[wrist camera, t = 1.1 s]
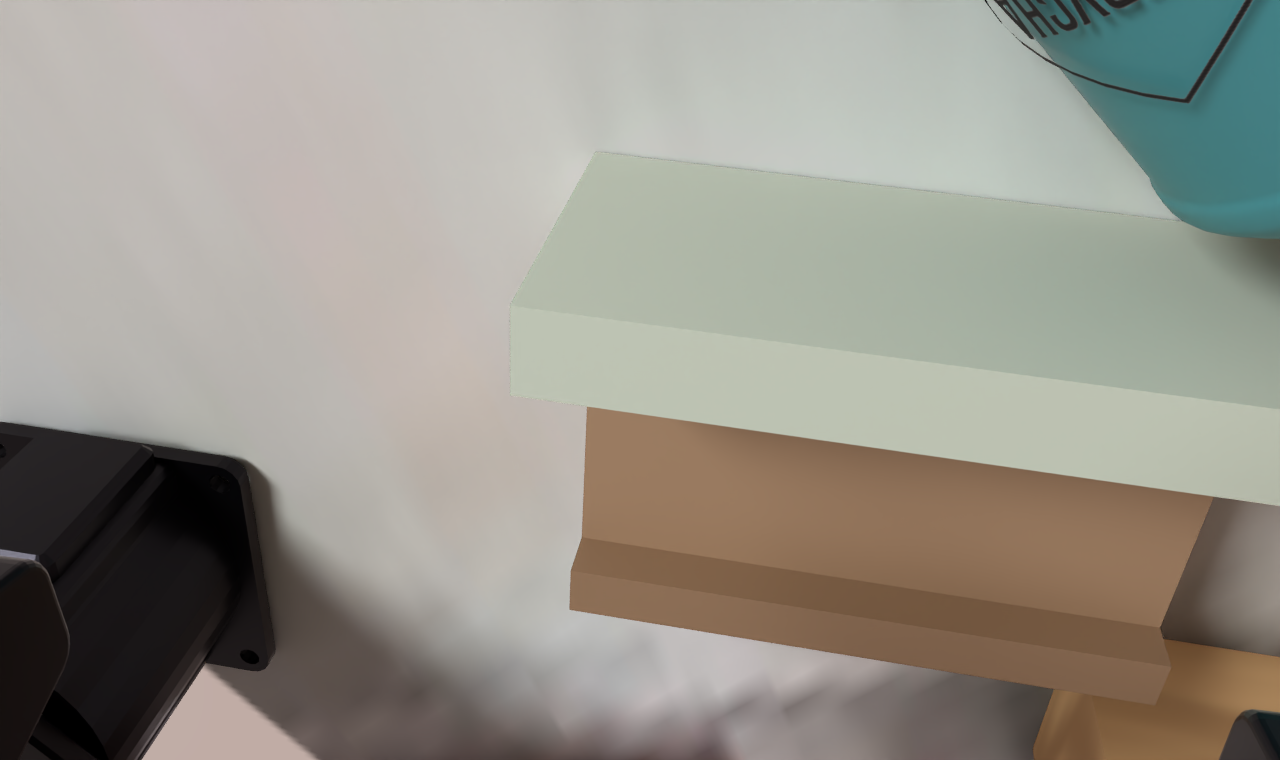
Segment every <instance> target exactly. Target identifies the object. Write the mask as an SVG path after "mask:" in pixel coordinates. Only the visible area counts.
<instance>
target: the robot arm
mask: <svg viewBox="0 0 1280 760" xmlns="http://www.w3.org/2000/svg"><path fill="white" fill-rule="evenodd" d="M219 476H222V477H224V478H225V479H226V480H228V482H226V481H224V480H222V479H221V478H220V477H219ZM274 654H275V644H274V638H273V631H272V625H271V618H270V612H269V606H268V599H267V593H266V586H265V580H264V574H263V567H262V561H261V554H260V548H259V541H258V535H257V529H256V522H255V516H254V509H253V503H252V497H251V490H250V484H249V477H248V474H247V472H246V470H245V468H244V467H243V466H242V465H241V464H240V463H239V462H237V461H236V460H234V459H232V458H229V457H226V456H220V455H214V454H207V453H201V452H194V451H188V450H181V449H175V448H168V447H162V446H155V445H149V444H142V443H136V442H129V441H123V440H116V439H110V438H103V437H97V436H90V435H84V434H77V433H71V432H64V431H58V430H51V429H45V428H38V427H32V426H25V425H19V424H12V423H6V422H0V760H142V758H143V757H144V755H145V754H146V752H147V751H148V749H149V748H150V746H151V745H152V743H153V742H154V740H155V739H156V737H157V736H158V734H159V732H160V731H161V730H162V728H163V726H164V725H165V723H166V722H167V720H168V719H169V717H170V716H171V714H172V713H173V711H174V710H175V708H176V707H177V705H178V704H179V702H180V701H181V699H182V698H183V696H184V695H185V693H186V692H187V690H188V689H189V687H190V686H191V684H192V683H193V681H194V680H195V678H196V677H197V675H198V674H199V672H200V671H201V669H202V668H203V666H204V665H205V663H210V664H216V665H221V666H227V667H233V668H238V669H244V670H250V671H261V670H263V669H265V668H266V667H267V666H268V664H269V663H270V661H271V659H272V657H273V656H274ZM1219 760H1280V712H1273V711H1265V710H1256V709H1250V710H1245V711H1243V712H1241V713H1240V714H1239V715H1238V716H1237V718H1236V719H1235V721H1234V723H1233V725H1232V727H1231V730H1230V732H1229V735H1228V737H1227V740H1226V742H1225V745H1224V747H1223V750H1222V752H1221V755H1220V757H1219Z"/></svg>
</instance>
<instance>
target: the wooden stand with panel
mask: <svg viewBox="0 0 1280 760" xmlns="http://www.w3.org/2000/svg"><path fill="white" fill-rule="evenodd" d="M510 396H517V397H524V398H531V399H538V400H545V401H552V402H559V403H566V404H573V405H580V406H587V423H586V448H585V473H584V498H583V522H582V539H581V542H580V545H579V548H578V551H577V554H576V557H575V560H574V563H573V566H572V569H571V582H570V610H575V611H581V612H587V613H593V614H599V615H605V616H611V617H618V618H624V619H630V620H636V621H642V622H648V623H654V624H660V625H666V626H673V627H679V628H685V629H691V630H697V631H703V632H709V633H715V634H721V635H727V636H734V637H740V638H746V639H752V640H758V641H764V642H770V643H776V644H782V645H789V646H795V647H801V648H807V649H813V650H819V651H825V652H831V653H837V654H844V655H850V656H856V657H862V658H868V659H874V660H880V661H886V662H892V663H898V664H905V665H911V666H917V667H923V668H929V669H935V670H941V671H947V672H953V673H960V674H966V675H972V676H978V677H984V678H990V679H996V680H1002V681H1008V682H1014V683H1021V684H1027V685H1033V686H1039V687H1045V688H1051V689H1057V690H1063V691H1069V692H1076V693H1082V694H1088V695H1094V696H1100V697H1106V698H1112V699H1118V700H1124V701H1131V702H1137V703H1143V704H1149V705H1156V702H1157V700H1158V698H1159V695H1160V693H1161V691H1162V688H1163V686H1164V684H1165V681H1166V679H1167V677H1168V674H1169V672H1170V670H1171V667H1172V666H1171V663H1170V660H1169V656H1168V653H1167V649H1166V646H1165V643H1164V639H1163V636H1162V633H1161V629H1160V627H1161V624H1162V622H1163V619H1164V617H1165V615H1166V612H1167V610H1168V607H1169V605H1170V602H1171V600H1172V598H1173V595H1174V593H1175V590H1176V588H1177V585H1178V583H1179V581H1180V578H1181V576H1182V573H1183V571H1184V568H1185V566H1186V564H1187V561H1188V559H1189V556H1190V554H1191V551H1192V549H1193V547H1194V544H1195V542H1196V539H1197V537H1198V535H1199V532H1200V530H1201V527H1202V525H1203V522H1204V520H1205V518H1206V515H1207V513H1208V510H1209V508H1210V505H1211V503H1212V501H1213V498H1214V497H1220V498H1227V499H1234V500H1241V501H1248V502H1255V503H1262V504H1269V505H1276V506H1280V239H1264V238H1245V237H1232V236H1226V235H1221V234H1216V233H1211V232H1206V231H1203V230H1201V229H1199V228H1196V227H1194V226H1192V225H1190V224H1188V223H1186V222H1183V221H1174V220H1166V219H1158V218H1149V217H1141V216H1132V215H1124V214H1115V213H1107V212H1099V211H1090V210H1082V209H1073V208H1065V207H1057V206H1048V205H1040V204H1031V203H1023V202H1014V201H1006V200H998V199H989V198H981V197H972V196H964V195H955V194H947V193H939V192H930V191H922V190H913V189H905V188H897V187H888V186H880V185H871V184H863V183H854V182H846V181H838V180H829V179H821V178H812V177H804V176H796V175H787V174H779V173H770V172H762V171H753V170H745V169H737V168H728V167H720V166H711V165H703V164H695V163H686V162H678V161H669V160H661V159H652V158H644V157H636V156H627V155H619V154H610V153H602V152H595V154H594V155H593V157H592V159H591V161H590V163H589V164H588V166H587V168H586V170H585V172H584V173H583V175H582V177H581V179H580V181H579V182H578V184H577V186H576V188H575V190H574V191H573V193H572V195H571V197H570V199H569V200H568V202H567V204H566V206H565V207H564V209H563V211H562V213H561V215H560V216H559V218H558V220H557V222H556V224H555V225H554V227H553V229H552V231H551V233H550V234H549V236H548V238H547V240H546V242H545V243H544V245H543V247H542V249H541V251H540V252H539V254H538V256H537V258H536V260H535V261H534V263H533V265H532V267H531V269H530V270H529V272H528V274H527V276H526V277H525V279H524V281H523V283H522V285H521V286H520V288H519V290H518V292H517V294H516V295H515V297H514V299H513V301H512V303H511V304H510Z"/></svg>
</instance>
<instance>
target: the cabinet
mask: <svg viewBox="0 0 1280 760" xmlns="http://www.w3.org/2000/svg"><path fill="white" fill-rule="evenodd" d="M1164 643H1165V646H1166V649H1167V653H1168V656H1169V660H1170V663H1171V666H1172V667H1171V670H1170V672H1169V674H1168V677H1167V679H1166V681H1165V684H1164V686H1163V688H1162V691H1161V693H1160V695H1159V698H1158V700H1157V702H1156V705H1149V704H1143V703H1137V702H1131V701H1124V700H1118V699H1112V698H1106V697H1100V696H1094V695H1088V694H1082V693H1076V692H1069V691H1063V690H1057V689H1054V691H1053V694H1052V696H1051V699H1050V702H1049V705H1048V707H1047V710H1046V713H1045V716H1044V719H1043V721H1042V724H1041V727H1040V730H1039V733H1038V735H1037V738H1036V741H1035V744H1034V746H1033V755H1034V760H1219V757H1220V755H1221V752H1222V750H1223V747H1224V745H1225V742H1226V740H1227V737H1228V735H1229V732H1230V730H1231V727H1232V725H1233V723H1234V721H1235V719H1236V718H1237V716H1238V715H1239V714H1240V713H1241V712H1243V711H1245V710H1250V709H1256V710H1265V711H1273V712H1280V657H1276V656H1269V655H1263V654H1257V653H1250V652H1244V651H1237V650H1231V649H1225V648H1218V647H1212V646H1206V645H1199V644H1193V643H1187V642H1180V641H1174V640H1168V639H1164Z"/></svg>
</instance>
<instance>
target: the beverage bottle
mask: <svg viewBox="0 0 1280 760" xmlns="http://www.w3.org/2000/svg"><path fill="white" fill-rule="evenodd" d="M994 1H995V2H996V3H997V4H998V5H999V6H1000V7H1001V8H1002V9H1003V10H1004V12H1005V13H1006V14H1007V15H1008V16H1009V17H1010V18H1011V19H1012V20H1013V21H1014V22H1015V23H1016V24H1017V25H1018V26H1019V27H1020V28H1021V29H1022V30H1023V31H1024V32H1025V33H1026V34H1027V36H1028V37H1029V38H1030V39H1034V38H1035V39H1036V40H1037V41H1038V42H1039V44H1040V45H1041V46H1042V47H1043V49H1044V50H1045V51H1046V52H1047V53H1048V55H1049V56H1050V57H1051V58H1052V59H1053V61H1054V62H1055V63H1054V62H1052V61H1050V60H1048V59H1046V58H1044V57H1043V56H1041V55H1040V54H1038V53H1037V52H1035V51H1034V50H1033V49H1031V48H1030V47H1028V46H1027V45H1025V44H1024V43H1023V42H1021V41H1020V40H1019V39H1018V38H1017V37H1016V36H1015V35H1014V34H1013V35H1014V36H1015V37H1016V38H1017V39H1018V40H1019V41H1020V42H1021V43H1022V44H1023V45H1024V46H1026V47H1027V48H1029V49H1030V50H1032V51H1033V52H1034V53H1036V54H1037V55H1039V56H1040V57H1042V58H1043V59H1044V60H1046V61H1048V62H1049V63H1051V64H1053V65H1055V66H1057V67H1059V68H1060V69H1061V70H1062V72H1063V73H1064V74H1065V75H1066V77H1067V78H1068V79H1069V80H1070V81H1071V83H1072V84H1073V85H1074V86H1075V88H1076V89H1077V90H1078V91H1079V92H1080V94H1081V95H1082V96H1083V97H1084V98H1085V100H1086V101H1087V102H1088V103H1089V105H1090V106H1091V107H1092V108H1093V109H1094V111H1095V112H1096V113H1097V114H1098V116H1099V117H1100V118H1101V119H1102V120H1103V122H1104V123H1105V124H1106V125H1107V127H1108V128H1109V129H1110V130H1111V131H1112V133H1113V134H1114V135H1115V136H1116V137H1117V139H1118V140H1119V141H1120V142H1121V144H1122V145H1123V146H1124V147H1125V148H1126V150H1127V151H1128V152H1129V153H1130V155H1131V156H1132V157H1133V158H1134V159H1135V161H1136V162H1137V163H1138V164H1139V166H1140V167H1141V168H1142V169H1143V170H1144V172H1145V173H1146V174H1147V175H1148V177H1149V178H1150V181H1151V184H1152V187H1153V188H1154V190H1155V191H1156V193H1157V195H1158V196H1159V197H1160V199H1161V200H1162V202H1163V203H1164V204H1165V205H1166V206H1167V208H1168V209H1169V210H1170V211H1171V212H1172V213H1173V214H1174V215H1176V216H1177V217H1178V218H1180V219H1181V220H1182V221H1184V222H1186V223H1188V224H1190V225H1192V226H1194V227H1196V228H1199V229H1201V230H1203V231H1206V232H1211V233H1216V234H1221V235H1226V236H1232V237H1245V238H1264V239H1280V0H994ZM985 2H986V3H987V1H986V0H985ZM987 5H988V3H987ZM1003 5H1004V6H1005V7H1006V9H1007V10H1008V11H1009V12H1010V13H1011V14H1012V15H1013V16H1014V17H1015V18H1016V19H1017V20H1016V19H1015V18H1014V17H1013V16H1012V15H1011V14H1010V13H1009V12H1008V11H1007V10H1006V9H1005V8H1004V6H1003ZM988 6H989V5H988ZM989 7H990V6H989ZM990 9H991V7H990ZM991 10H992V9H991ZM992 11H993V10H992ZM993 13H994V11H993ZM994 14H995V13H994ZM995 15H996V14H995ZM996 17H997V15H996ZM997 18H998V17H997ZM998 19H999V18H998ZM999 21H1000V19H999ZM1000 22H1001V21H1000ZM1001 23H1002V22H1001ZM1031 34H1032V35H1033V36H1034V37H1033V36H1032V35H1031Z"/></svg>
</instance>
